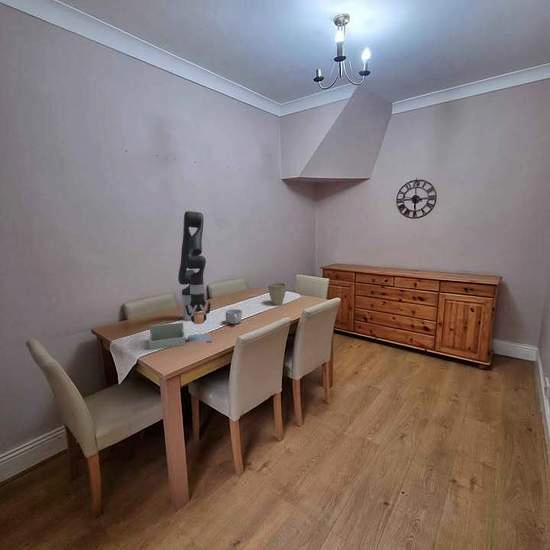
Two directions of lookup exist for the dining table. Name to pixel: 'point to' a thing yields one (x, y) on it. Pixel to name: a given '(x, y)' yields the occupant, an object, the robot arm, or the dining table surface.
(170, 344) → the cold frame
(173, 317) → the dining table surface
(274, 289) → the plant pot
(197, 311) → the pot
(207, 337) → the slate tile
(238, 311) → the teacup
